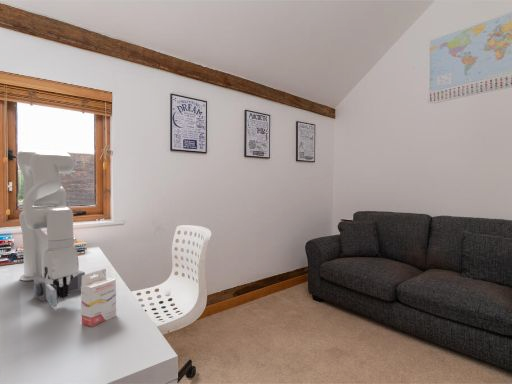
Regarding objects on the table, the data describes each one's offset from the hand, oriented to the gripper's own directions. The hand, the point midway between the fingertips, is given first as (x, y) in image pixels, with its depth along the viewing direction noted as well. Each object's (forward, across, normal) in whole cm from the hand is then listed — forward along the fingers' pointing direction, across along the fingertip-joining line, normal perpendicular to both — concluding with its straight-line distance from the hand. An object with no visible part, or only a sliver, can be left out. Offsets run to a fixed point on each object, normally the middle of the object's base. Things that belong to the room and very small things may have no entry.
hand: (62, 296), depth 101 cm
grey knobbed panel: (+3, -7, -13) cm, 15 cm away
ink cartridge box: (+3, +3, +22) cm, 22 cm away
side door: (+2, +2, -4) cm, 5 cm away
